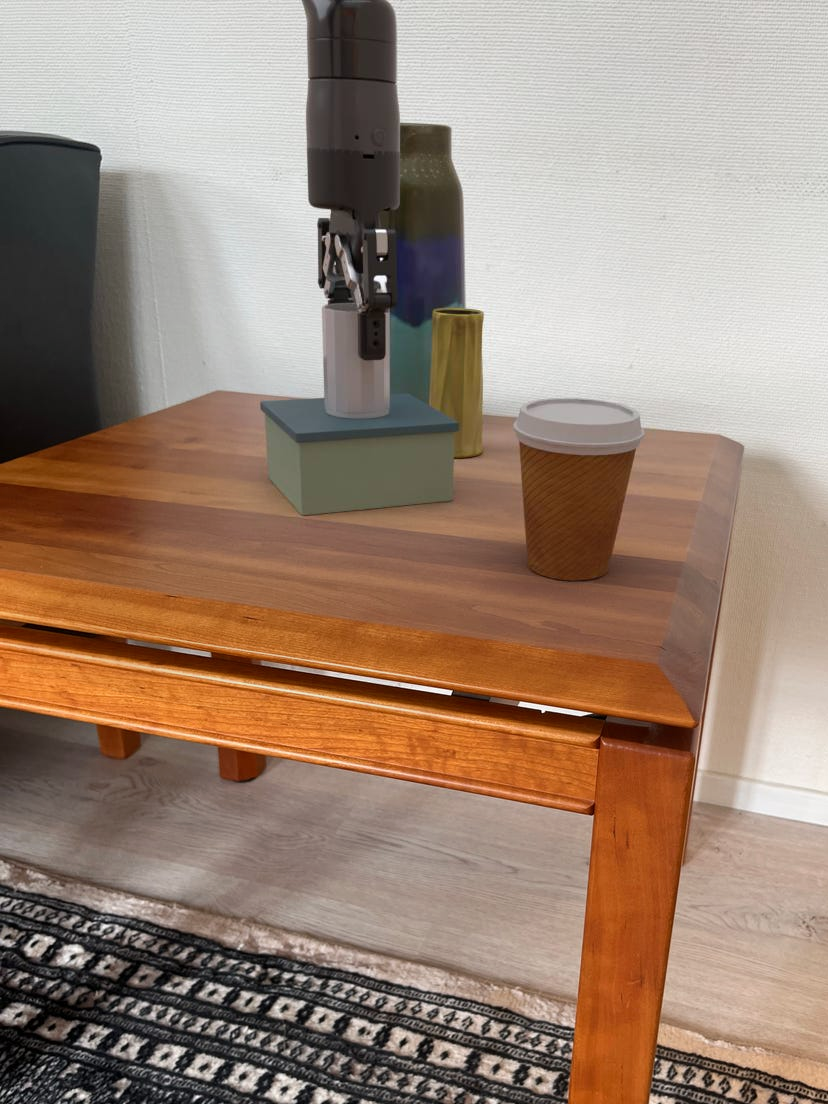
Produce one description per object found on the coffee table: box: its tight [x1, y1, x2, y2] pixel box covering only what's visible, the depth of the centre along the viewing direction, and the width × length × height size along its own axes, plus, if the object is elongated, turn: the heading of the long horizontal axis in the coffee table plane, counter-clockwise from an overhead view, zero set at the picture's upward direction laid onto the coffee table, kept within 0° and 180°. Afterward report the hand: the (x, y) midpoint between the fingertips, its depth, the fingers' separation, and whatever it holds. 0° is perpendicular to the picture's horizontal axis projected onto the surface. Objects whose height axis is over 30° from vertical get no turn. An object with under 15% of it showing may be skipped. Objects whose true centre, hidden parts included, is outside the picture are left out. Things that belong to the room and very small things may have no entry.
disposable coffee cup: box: [512, 397, 646, 581], centre depth 76 cm, size 10×10×12 cm
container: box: [259, 393, 459, 517], centre depth 93 cm, size 15×13×7 cm
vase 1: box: [349, 122, 467, 405], centre depth 116 cm, size 14×14×31 cm
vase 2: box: [429, 307, 485, 459], centre depth 105 cm, size 6×6×14 cm
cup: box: [321, 303, 390, 419], centre depth 90 cm, size 6×6×9 cm
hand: (356, 350), depth 89 cm, fingers open, 8 cm apart
